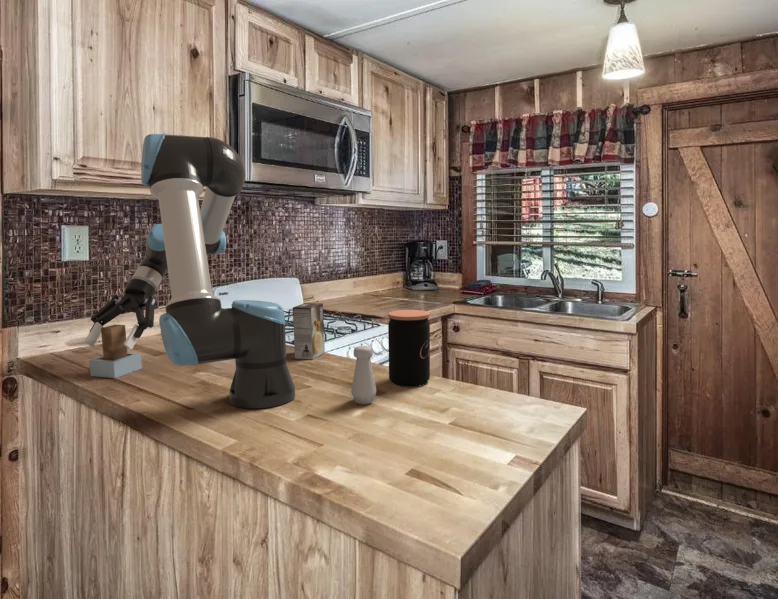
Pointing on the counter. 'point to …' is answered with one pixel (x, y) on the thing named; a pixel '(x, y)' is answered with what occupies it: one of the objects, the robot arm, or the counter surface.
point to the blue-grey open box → (115, 366)
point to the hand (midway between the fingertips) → (107, 345)
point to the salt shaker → (363, 376)
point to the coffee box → (308, 330)
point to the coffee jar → (409, 347)
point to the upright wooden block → (114, 342)
